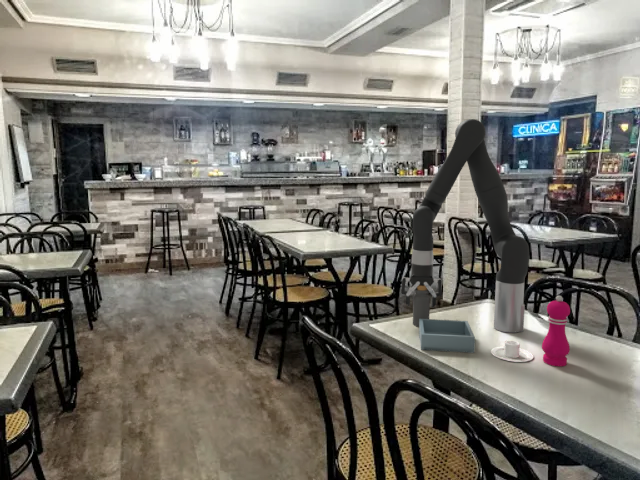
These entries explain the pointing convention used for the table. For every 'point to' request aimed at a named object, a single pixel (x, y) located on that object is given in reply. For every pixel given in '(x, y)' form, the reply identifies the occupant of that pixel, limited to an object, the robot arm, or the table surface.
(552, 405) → the table surface
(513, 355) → the candle holder
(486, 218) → the robot arm
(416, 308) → the bottle
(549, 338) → the pepper mill
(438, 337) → the tote
